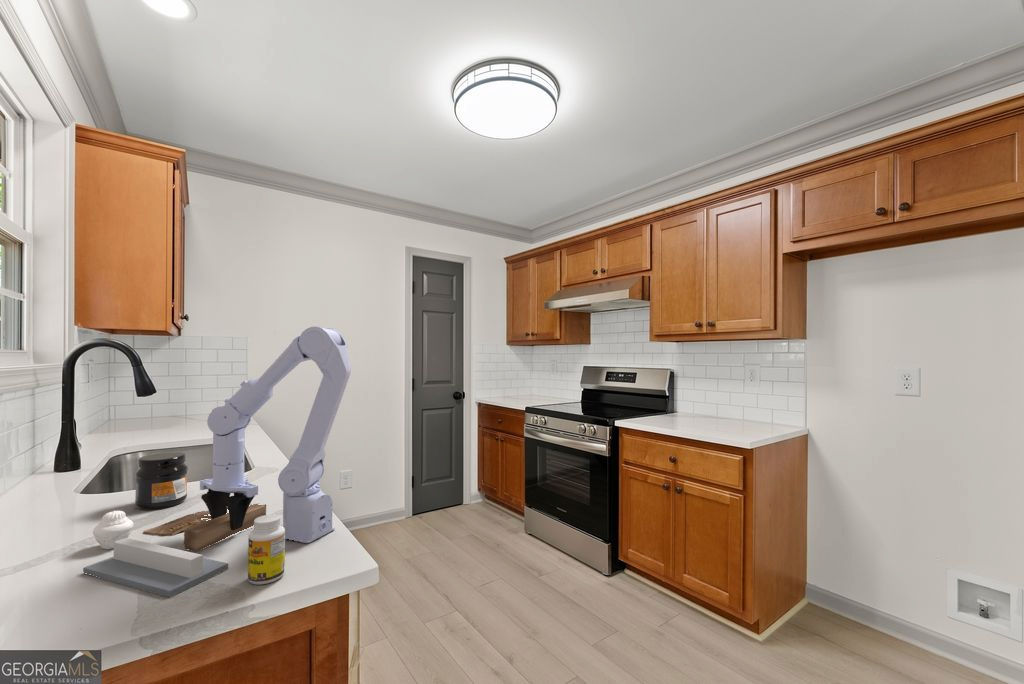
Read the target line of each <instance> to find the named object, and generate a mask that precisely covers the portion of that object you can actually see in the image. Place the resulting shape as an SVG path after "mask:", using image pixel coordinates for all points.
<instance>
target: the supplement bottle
mask: <svg viewBox="0 0 1024 684" xmlns="http://www.w3.org/2000/svg"><path fill="white" fill-rule="evenodd" d="M247 541H248V551H247V552H248V553H247V554H248V555H247V580H248V582H249V583H250V584H252V585H259V586H260V585H267V584H271V583H275V582H276V581H278V580H279V579H281V578H282V577H283V575H284V574H285V565H286V564H285V563H286V561H285V558H286V557H285V555H286V554H285V553H286V552H285V551H286V539H285V528H284V527H283V525H281V517H280V515H279V514H266V515H264V516H260V517H258V518H256V519H255V520H254V528H252V530H251V531H250V532H249V534H248V539H247Z"/></svg>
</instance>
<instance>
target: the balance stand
mask: <svg viewBox="0 0 1024 684" xmlns="http://www.w3.org/2000/svg"><path fill="white" fill-rule="evenodd" d="M228 569H229V563H228V562H223V561H219V560H215V559H210V558H206V557H203V554H200V553H195V552H193V551H192V552H191V551H188V550H187V551H186V550H184V549H179V548H173V547H168V546H163V545H159V544H156V543H151V542H146V541H141V540H137V539H132V538H129V537H128V538H125V539H122V540H119V541H116V542H114V548H113V556H112V557H108V558H106V559H103V560H100V561H97V562H96V563H92V564H90V565H87V566H84V567H82V573H83V572H84V573H87V574H91V575H94V576H97V577H96V578H98V577H100V578H99V579H101V578H102V580H106V581H109V582H112V583H115V584H116V583H117V584H120V585H122V586H123V585H124V586H127V587H130V588H134V589H137V590H141V591H145V592H149V593H152V594H156V595H160V596H163V597H166V598H172V597H174V596H175V595H179V594H180V593H182V592H183V591H186V590H188V589H190V588H192V587H195V586H196V585H198V584H200V583H202V582H205V581H207V580H208V579H210V578H213V577H215V576H217V575H218V574H221V573H223V572H225V571H227V570H228ZM87 574H86V575H87ZM94 576H93V577H94Z"/></svg>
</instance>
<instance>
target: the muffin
mask: <svg viewBox="0 0 1024 684" xmlns="http://www.w3.org/2000/svg"><path fill="white" fill-rule="evenodd" d="M133 528H134V521H133V520H131V519H129V517H127V516H126V512H125V511H122V510H112V511H108V512H106V513H105V514H103V516H102V518H101V520H100V522H99V523H98V524H97V525H96V526H95V527H94V528H93V530H92V535H93V537H94V539H95V541H96V542H97V543H98V544H99V546H100V547H101V548H102V549H103V550H114V542H116V541H119V540H122V539H125V538H129V536H130V535H131V533H132V529H133Z"/></svg>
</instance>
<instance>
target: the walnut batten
mask: <svg viewBox="0 0 1024 684" xmlns="http://www.w3.org/2000/svg"><path fill="white" fill-rule="evenodd" d="M258 504H259V503H253V505H252V504H250V506H249V507H248V509H247V512H246V515H245V518H244V521H243V525H242V527H241V528H238V529H236V530H231V527H230V516H229V513H228V514H226V515H223V516H220V517H218V518H215V519H212V520H209V521H207V522H204V523H201V524H198V525H196V526H193V527H190V528H188V529H185V530H184V531H183V550H187V549H189V550H188V551H191V550H192V552H196V551H197V552H199V551H202V550H204V549H206V548H208V547H207V546H209V545H211V546H213V545H215V544H214V543H216V542H218V541H220V540H222V539H225V538H226V537H228V536H230V535H232V534H235V533H237V532H239V531H242V530H244V529H247V528H249V527H251V526H253V525H254V520H255V519H256V518H258V517H260V516H264V515H267V506H265V505H258ZM225 540H226V539H225ZM218 543H219V542H218ZM212 544H213V545H212ZM216 544H217V543H216ZM205 547H206V548H205ZM209 547H210V546H209ZM203 548H204V549H203ZM201 549H202V550H201Z"/></svg>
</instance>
